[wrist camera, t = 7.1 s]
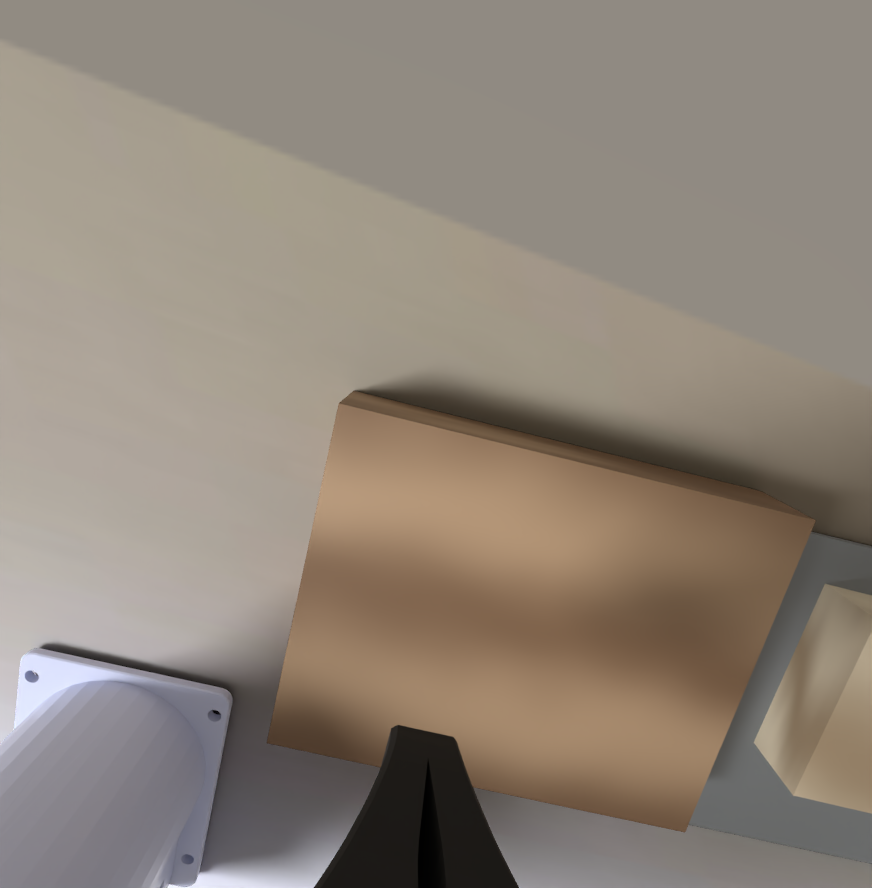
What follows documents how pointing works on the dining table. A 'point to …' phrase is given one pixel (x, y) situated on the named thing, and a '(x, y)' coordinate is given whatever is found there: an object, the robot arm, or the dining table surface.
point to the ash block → (826, 706)
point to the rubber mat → (739, 760)
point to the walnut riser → (530, 610)
